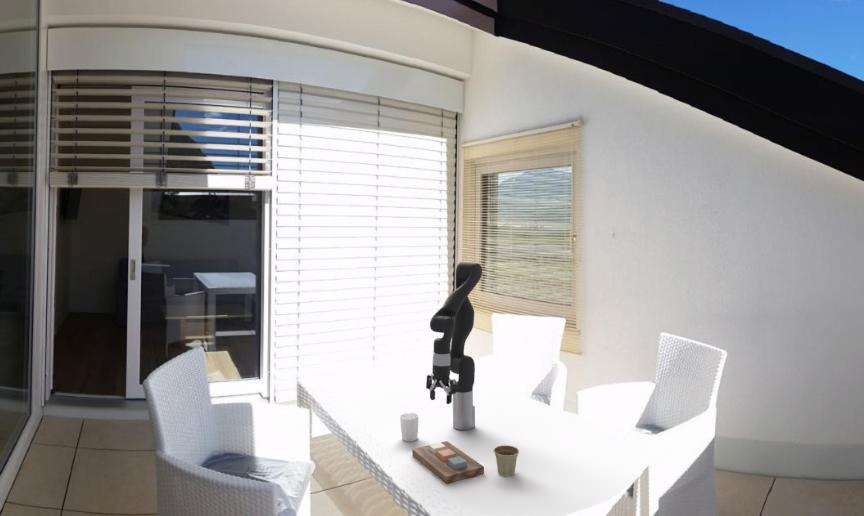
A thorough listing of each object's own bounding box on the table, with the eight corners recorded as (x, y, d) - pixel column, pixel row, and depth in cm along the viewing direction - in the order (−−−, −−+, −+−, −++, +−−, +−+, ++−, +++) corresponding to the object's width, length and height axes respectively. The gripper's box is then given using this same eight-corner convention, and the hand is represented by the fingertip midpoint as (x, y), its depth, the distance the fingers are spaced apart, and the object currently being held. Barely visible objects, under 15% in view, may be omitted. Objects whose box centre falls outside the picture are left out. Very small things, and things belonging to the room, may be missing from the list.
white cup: (403, 443, 239) (402, 420, 238) (399, 436, 247) (398, 414, 246) (420, 440, 241) (420, 418, 241) (416, 434, 249) (416, 412, 248)
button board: (447, 447, 233) (447, 440, 233) (484, 474, 208) (484, 466, 208) (412, 456, 226) (412, 448, 225) (446, 484, 201) (446, 476, 201)
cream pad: (439, 448, 227) (439, 441, 227) (445, 453, 223) (445, 446, 223) (428, 451, 225) (428, 444, 225) (434, 456, 220) (434, 448, 220)
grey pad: (459, 463, 213) (459, 456, 213) (466, 469, 209) (466, 461, 209) (447, 466, 211) (447, 459, 211) (454, 472, 206) (454, 464, 206)
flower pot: (516, 466, 214) (516, 444, 214) (521, 478, 205) (521, 455, 204) (492, 467, 214) (491, 445, 213) (495, 479, 205) (495, 456, 204)
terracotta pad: (449, 456, 220) (449, 448, 220) (455, 461, 216) (455, 453, 216) (437, 458, 218) (437, 451, 218) (444, 464, 213) (444, 456, 213)
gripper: (460, 364, 234) (459, 403, 235) (434, 359, 244) (433, 396, 244) (449, 367, 229) (448, 407, 229) (422, 362, 238) (421, 400, 238)
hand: (440, 401), depth 237 cm, fingers open, 8 cm apart
